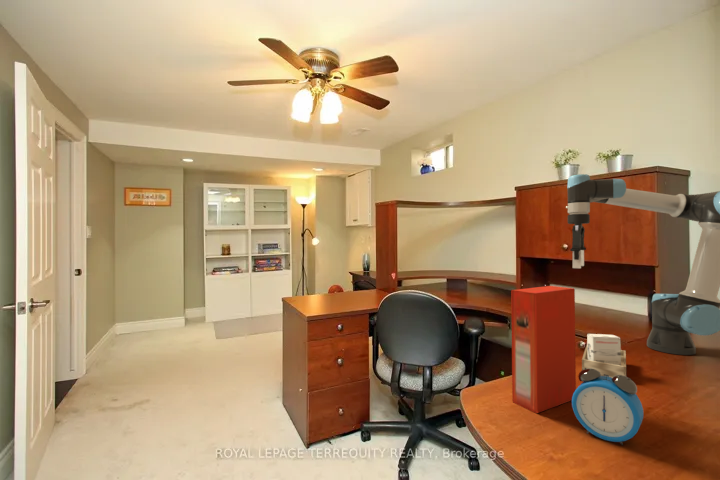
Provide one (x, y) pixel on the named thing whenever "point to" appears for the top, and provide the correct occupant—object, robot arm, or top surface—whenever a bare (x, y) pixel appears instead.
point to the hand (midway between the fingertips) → (578, 267)
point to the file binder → (543, 347)
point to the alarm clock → (607, 405)
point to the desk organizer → (605, 365)
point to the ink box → (604, 348)
